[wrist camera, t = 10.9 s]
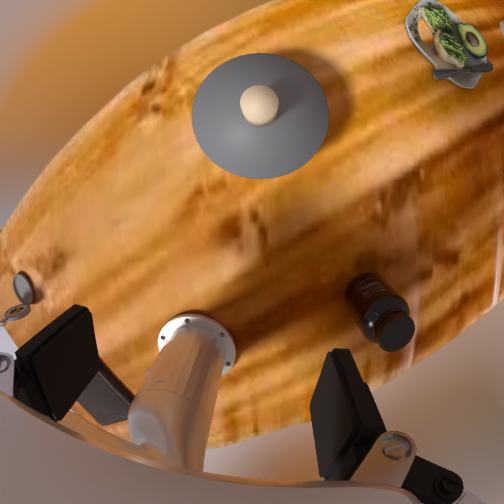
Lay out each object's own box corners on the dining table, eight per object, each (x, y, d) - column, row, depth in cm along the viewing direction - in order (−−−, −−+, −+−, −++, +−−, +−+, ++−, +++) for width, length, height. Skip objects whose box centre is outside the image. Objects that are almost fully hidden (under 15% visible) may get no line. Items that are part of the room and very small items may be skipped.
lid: (251, 206, 31) (249, 211, 26) (168, 111, 28) (152, 101, 24) (353, 126, 28) (367, 118, 23) (267, 35, 25) (268, 16, 21)
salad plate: (461, 118, 31) (477, 114, 26) (382, 37, 29) (393, 24, 24) (491, 63, 26) (505, 58, 22) (425, -6, 24) (436, -16, 20)
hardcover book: (106, 420, 51) (102, 426, 49) (41, 347, 46) (36, 352, 44) (146, 407, 48) (143, 415, 46) (71, 322, 44) (65, 327, 41)
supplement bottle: (338, 311, 40) (361, 358, 28) (350, 268, 38) (381, 304, 26) (378, 315, 40) (409, 359, 28) (391, 275, 38) (430, 309, 26)
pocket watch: (21, 266, 41) (-12, 283, 31) (43, 300, 42) (11, 321, 33) (10, 287, 42) (-19, 305, 33) (31, 318, 44) (3, 339, 34)
